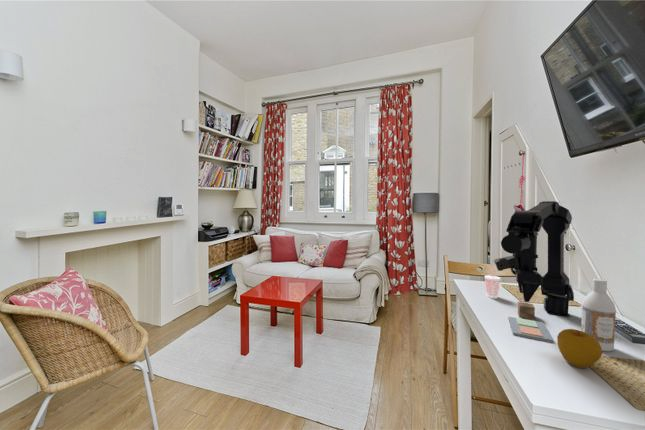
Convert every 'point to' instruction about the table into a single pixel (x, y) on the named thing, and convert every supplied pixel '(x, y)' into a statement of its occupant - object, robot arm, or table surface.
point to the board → (529, 329)
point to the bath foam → (599, 315)
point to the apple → (579, 348)
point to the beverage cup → (492, 285)
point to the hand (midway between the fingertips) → (524, 297)
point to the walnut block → (526, 310)
